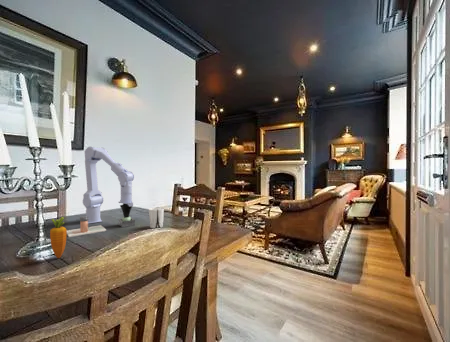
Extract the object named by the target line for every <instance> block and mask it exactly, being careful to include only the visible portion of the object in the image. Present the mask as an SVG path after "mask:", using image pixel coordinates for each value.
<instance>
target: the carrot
mask: <svg viewBox="0 0 450 342" xmlns="http://www.w3.org/2000/svg"><path fill="white" fill-rule="evenodd" d="M64 219H65V218H64V217H63V216H62V217H60V218H59V219H54V218H52V219H51V221H52V223H53V225H54V226H55V227H53V228H50V230H49V238H50V239H49V240H50V245H51V249H52V251H53V252H52V253H54V255H55V257H56V258H57V259H60V258H61V257H62V255H63V254H64V251H65V249H66V246H67V245H66V244H67V237H68V235H67V230H68V229H67V228H66V227H64V224H65V222H64Z"/></svg>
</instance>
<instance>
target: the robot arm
mask: <svg viewBox="0 0 450 342" xmlns="http://www.w3.org/2000/svg"><path fill="white" fill-rule="evenodd" d="M101 160H103V161H104V162H105V163H106V164H107V165H109V167H110V170H111V171H112V172H113V174H114V175H116V176H117V179H118V182H119V185H120V200H119V201H118V203H119V204H120V205H119V206H120V208H121V210H122V215H123V217H124V218H127V217H130V213H131V210H132V208H133V206H134V202H133V199H132V198H133V197H132V196H133V195H132V194H133V188H132V187H133V186H132V185H133V181H134V179H135V174H134V173H133V172H132V171H128V169H126V168H125V167H124V166H123V164H122V163H121V162H116V160H114V159H113V157H112V156H111V155H110V154H109V152H108V150H107V149H106V148H104V147H95V146H88V147H86V148H85V150H84V165H85V167H84V168H85V176H86V177H85V178H86V189H87V190H86V191H85V193H84V194H82V195H83V198H82V205H83V206H84V208H85V209H86V210H85V217H88V225H90V224H95V223H101V222H103V220H102V219H101V206H102V204H104V197H103V193H102V192H101V191H100V190H99V187H98V176H97V175H98V173H97V163H98V162H99V161H101Z"/></svg>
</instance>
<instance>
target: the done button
mask: <svg viewBox="0 0 450 342" xmlns="http://www.w3.org/2000/svg"><path fill="white" fill-rule="evenodd" d="M131 218H132V217H131V216H129V217H127V218H124V216H122V217H121V219H122V221H129V220H131Z"/></svg>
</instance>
